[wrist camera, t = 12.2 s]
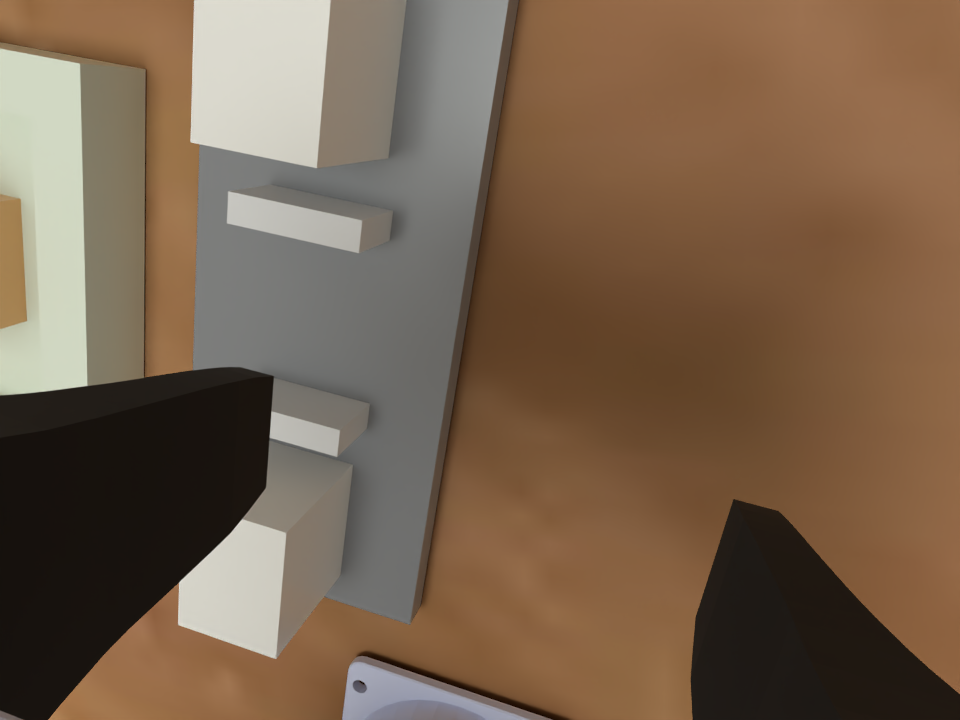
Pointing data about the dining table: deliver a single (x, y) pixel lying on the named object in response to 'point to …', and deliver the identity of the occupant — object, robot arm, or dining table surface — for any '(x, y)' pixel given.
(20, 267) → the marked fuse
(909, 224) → the dining table surface
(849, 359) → the dining table surface
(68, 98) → the tray
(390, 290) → the block
